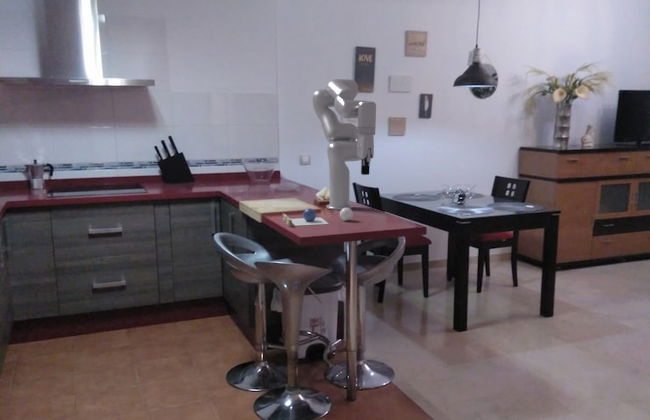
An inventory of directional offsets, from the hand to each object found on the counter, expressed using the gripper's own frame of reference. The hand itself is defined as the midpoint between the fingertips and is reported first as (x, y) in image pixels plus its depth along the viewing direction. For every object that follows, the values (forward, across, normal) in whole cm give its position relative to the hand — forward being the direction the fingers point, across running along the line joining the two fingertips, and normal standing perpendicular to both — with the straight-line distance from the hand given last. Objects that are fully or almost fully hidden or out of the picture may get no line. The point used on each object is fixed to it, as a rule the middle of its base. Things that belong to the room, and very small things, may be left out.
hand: (365, 174), depth 229 cm
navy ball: (+16, +5, -25) cm, 30 cm away
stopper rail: (+19, +6, -34) cm, 40 cm away
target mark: (+19, +5, -26) cm, 32 cm away
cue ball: (+16, +6, -10) cm, 19 cm away
